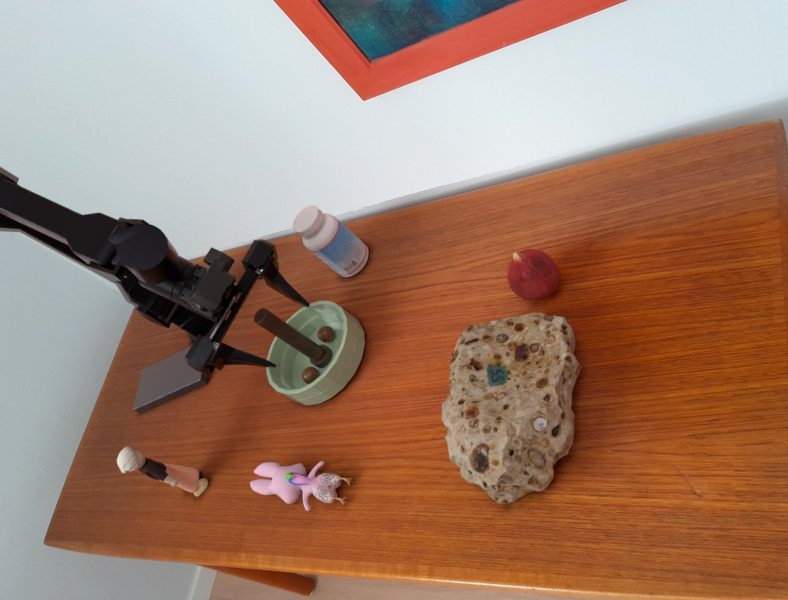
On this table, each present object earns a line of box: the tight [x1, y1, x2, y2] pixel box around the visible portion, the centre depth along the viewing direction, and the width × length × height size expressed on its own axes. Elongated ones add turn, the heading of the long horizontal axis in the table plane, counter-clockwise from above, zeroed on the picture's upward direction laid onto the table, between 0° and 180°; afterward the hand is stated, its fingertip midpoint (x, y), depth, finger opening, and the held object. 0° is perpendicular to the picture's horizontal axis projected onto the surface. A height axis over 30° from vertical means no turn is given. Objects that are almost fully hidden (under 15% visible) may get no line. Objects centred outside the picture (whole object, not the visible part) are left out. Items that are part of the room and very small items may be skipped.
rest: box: [132, 346, 209, 414], centre depth 111 cm, size 8×16×2 cm, turn 95°
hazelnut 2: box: [317, 326, 335, 343], centre depth 94 cm, size 2×2×2 cm
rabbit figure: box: [249, 460, 353, 512], centre depth 82 cm, size 6×6×15 cm
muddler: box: [253, 307, 333, 368], centre depth 89 cm, size 3×3×12 cm
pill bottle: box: [292, 204, 370, 278], centre depth 97 cm, size 6×6×11 cm
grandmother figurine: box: [116, 446, 209, 498], centre depth 91 cm, size 8×4×13 cm, turn 71°
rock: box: [441, 312, 582, 506], centre depth 70 cm, size 21×14×10 cm
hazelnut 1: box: [302, 367, 320, 384], centre depth 91 cm, size 2×2×2 cm
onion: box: [506, 248, 560, 302], centre depth 76 cm, size 6×6×8 cm
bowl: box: [265, 299, 366, 406], centre depth 92 cm, size 14×14×4 cm
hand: (292, 335), depth 87 cm, fingers open, 9 cm apart
